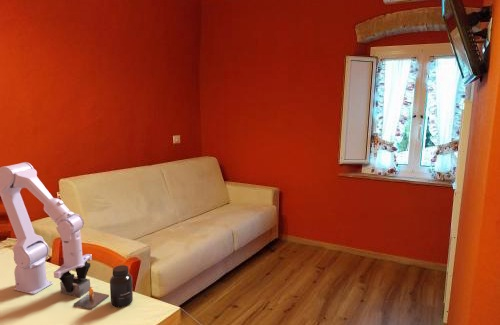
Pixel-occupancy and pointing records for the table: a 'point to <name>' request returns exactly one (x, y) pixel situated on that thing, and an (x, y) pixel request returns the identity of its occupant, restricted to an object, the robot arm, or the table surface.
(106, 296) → the keeper
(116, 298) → the supplement bottle
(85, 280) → the hollow rectangular frame
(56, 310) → the table surface
